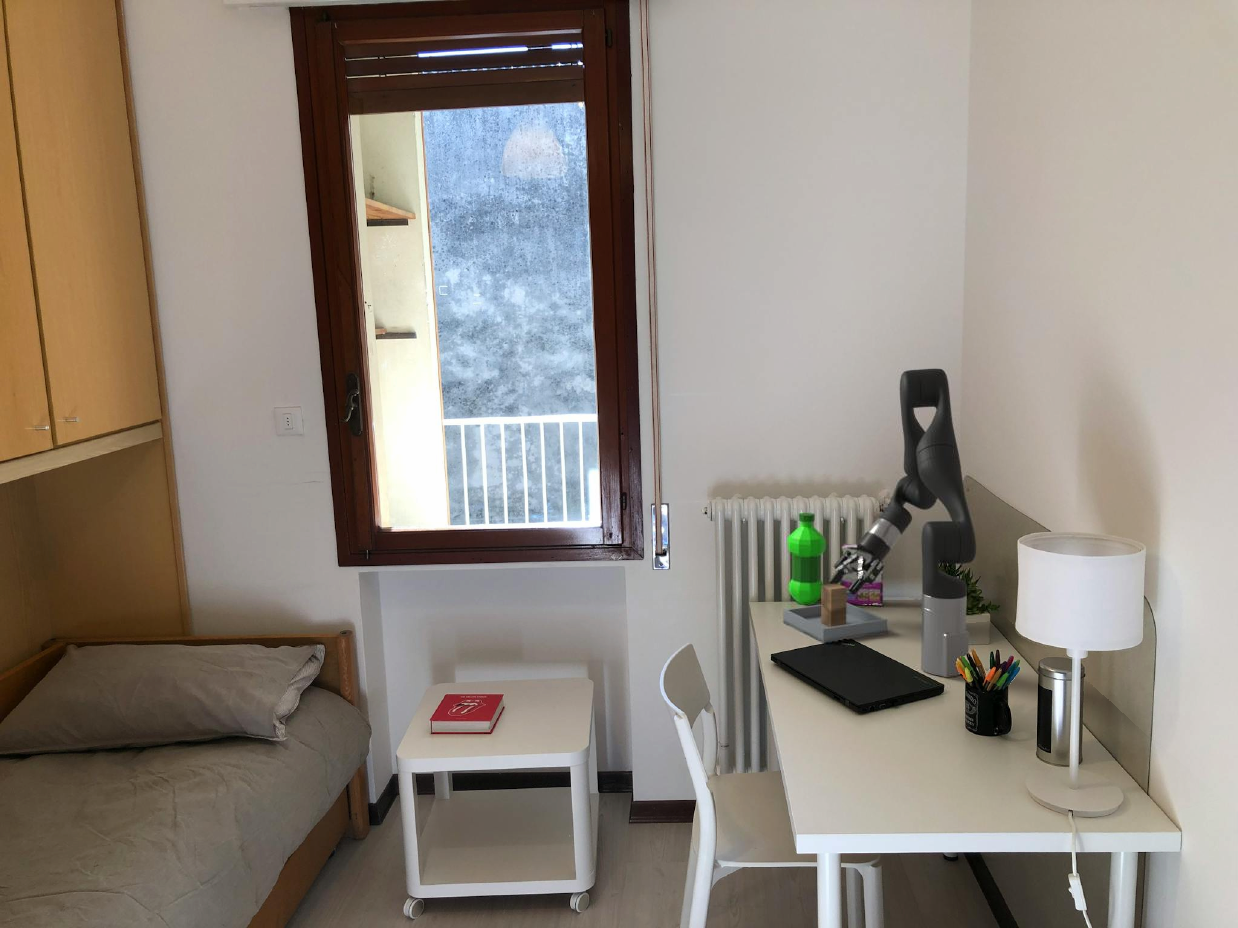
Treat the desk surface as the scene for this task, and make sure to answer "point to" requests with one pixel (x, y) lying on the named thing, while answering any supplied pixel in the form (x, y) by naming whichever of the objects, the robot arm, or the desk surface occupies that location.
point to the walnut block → (833, 605)
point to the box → (856, 626)
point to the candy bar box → (867, 591)
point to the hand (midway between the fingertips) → (841, 588)
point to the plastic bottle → (806, 561)
